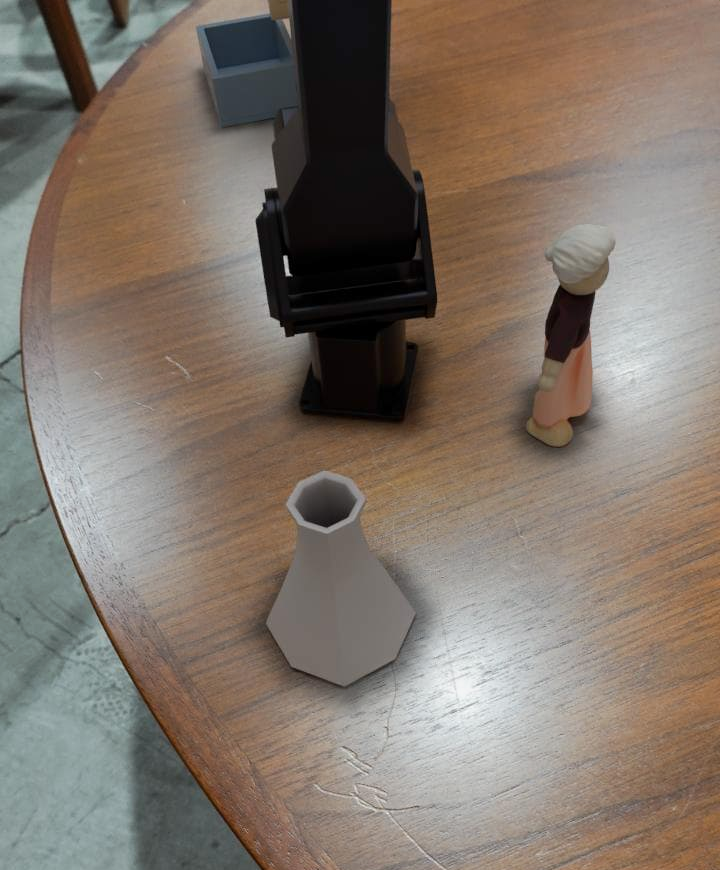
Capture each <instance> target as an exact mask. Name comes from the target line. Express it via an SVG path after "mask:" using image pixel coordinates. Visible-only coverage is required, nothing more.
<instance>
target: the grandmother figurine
mask: <svg viewBox="0 0 720 870" xmlns="http://www.w3.org/2000/svg"><path fill="white" fill-rule="evenodd" d="M615 248H616V236H615V234H614V232H612V231H611V230H610V229H609V228H606V227H602V226H600V225H596V224H592V223H585V224H580V225H575V226H572V227H569V228H568V229H566V230H565V231H563V232H561V233H560V234H559V235H558V236H557V237H556V238H555V239H553V240H552V241H551V243H549V245H548V246H547V247H546V248H545V250H544V258H545V260H546V261H547V262H551V263H552V264H551V265H552V271H553V273H554V274H555V276H556V277H557V280H558V283H559V285H558V287H557V289H556V291H555V294H554V295H553V299H552V302H551V304H550V307H549V310H548V313H547V316H546V319H545V322H544V323H545V324H544V335H545V336H544V337H545V338H544V348H543V358H544V359H543V362H542V365H541V372H540V375H539V376H538V378H537V382H536V383H537V387H538V390H537V392H536V393H535V394H534V397H533V410H532V416H531V417H530V418H528V421H527V422H526V425H525V429H526V431H527V433H528V434H529V435H531V436H532V437H534V438H536V439H537V440H540V441H541V442H543V443H544V444H546V445H548V446H551V447H557V448H559V447H564V446H566V445H568V444H569V443H570V441H571V440H572V439H573V437H574V431H573V427H572V425H571V424H570V422H569V421H568V419H569V418H573V417H579V416H582V415H584V414H586V412H587V411H588V410H589V409H590V408H591V404H592V396H593V383H594V382H593V379H594V378H593V377H594V376H593V375H594V369H593V357H592V335H591V330H590V328H591V320H592V319H591V317H592V313H593V310H594V309H593V308H594V304H595V301H596V300H595V297H596V293H597V292H596V291H598V290H600V288H601V287H602V286H603V285H604V284H605V283H606V281H607V279H608V276H609V273H610V260H609V256H610V255H611V253H612V252H613V251H614V249H615Z"/></svg>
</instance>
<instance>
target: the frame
mask: <svg viewBox="0 0 720 870" xmlns="http://www.w3.org/2000/svg"><path fill="white" fill-rule="evenodd" d="M267 4H268V11H269V13H270V16H271V20H279V19H282V20H287V19H288V20H289V11H288V0H267Z"/></svg>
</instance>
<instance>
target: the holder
mask: <svg viewBox="0 0 720 870" xmlns="http://www.w3.org/2000/svg"><path fill="white" fill-rule="evenodd" d="M195 29H196V33H197V34H196V35H197V40H198V46H199V51H200V55H201V61H202V65H203V71H204V76H205V79H206V82H207V85H208V89H209V92H210V96H211V99H212V101H213V105H214V108H215V112H216V115H217V118H218V122H219V125H220V127H221V128H227V127H231V126H237V125H243V124H248V123H253V122H254V123H255V122H259V121H265V120H269V119H270V120H271V119H275V116H276V114H277V111H278V109H279V108H287V107H295V106H298V105H297V94H296V84H295V73H294V63H293V52H292V42H291V34H290V33H289V31H288V29H287V27H286V24H285V21H284V19H279V20H271V16H270V12H269V13H263V14H258V15H252V16H246V17H240V18H234V19H230V20H224V21H217V22H211V23H206V24H201V25H196V26H195Z"/></svg>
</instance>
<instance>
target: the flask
mask: <svg viewBox="0 0 720 870" xmlns="http://www.w3.org/2000/svg"><path fill="white" fill-rule="evenodd" d="M366 504H367V499H366V496H365V495H364V494H363V492H362V491H361V490H360V488H359V487H358V486H357V484H356V483H355V482H354V480H353V479H352V478H351V477H347V476H344V475H341V474H338V473H335V472H331V471H328V470H325V469H324V470H322V471H319V472H317V473H315V474H313V475H312V476H309V477H307V478H304V479H302V480H300V481H298V482H297V484H296V485H295V487H294V489H293V491H292V493H290V495H289V497H288V499H287V501H286V502H285V509H286V510H287V512H288V513H289V515H290V517H291V518H292V519H293V521H294V522H295V525H296V532H297V533H296V541H295V548H294V555H293V557H292V561H291V563H290V566H289V569H288V571H287V574H286V577H285V578H284V581H283V584H282V586H281V589H280V591H279V592H278V595H277V596H276V599H275V601H274V604H273V605H272V608H271V610H270V612H269V614H268V617H267V619H266V622H265V625H266V627H267V628H268V630H269V631H270V633H271V635H272V637H273V638H274V640H275V642H276V643H277V645H278V647H279V649H280V651H281V652H282V654H283V655H284V657H285V658H286V660H287V662H288V663H289V665H290V668H293V669H296V670H299V671H302V672H305V673H307V674H309V675H312V676H315V677H318V678H320V679H323V680H325V681H328V682H331V683H334V684H337V685H339V686H342V687H347V686H348V685H350V684H352V683H354V682H356V681H357V680H360V679H361V678H363V677H365V676H367V675H369V674H370V673H372V672H374V671H376V670H378V669H379V668H382V667H383V666H386V665H387V664H389V663H391V662H392V661H395V660H396V659H397V657H398V654H399V652H400V649H401V647H402V645H403V643H404V641H405V639H406V637H407V635H408V631H409V629H410V628H411V625H412V623H413V620H414V619H415V616H416V614H417V612H416V610H415V609H414V607H413V605H412V604H411V603H410V602H409V600H408V599H407V597H406V596H405V594H404V593H403V592H402V590H401V589H400V587H399V586H398V585H397V584H396V582H395V580H394V579H393V578H392V576H391V575H390V573H389V572H388V571H387V570H386V568H385V567H384V565H383V564H382V563H381V561H379V559H378V558H377V557H376V556H375V554H374V552H372V550H371V548H370V546H369V543H368V541H367V538H366V535H365V533H364V531H363V528H362V521H361V514H362V512H363V510H364V508H365V506H366Z"/></svg>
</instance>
